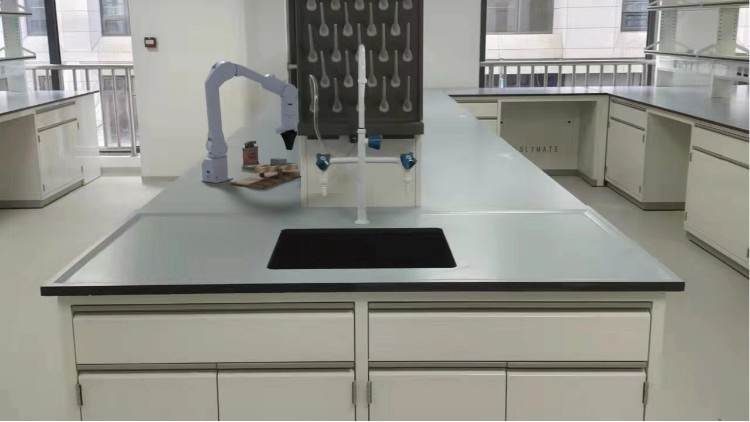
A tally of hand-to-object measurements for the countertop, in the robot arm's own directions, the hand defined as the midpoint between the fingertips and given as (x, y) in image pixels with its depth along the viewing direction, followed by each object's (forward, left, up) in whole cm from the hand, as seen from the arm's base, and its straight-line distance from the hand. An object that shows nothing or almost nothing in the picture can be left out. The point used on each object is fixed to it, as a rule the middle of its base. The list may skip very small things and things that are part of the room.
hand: (289, 149), depth 280 cm
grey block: (-8, 0, -5) cm, 9 cm away
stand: (-13, 0, -9) cm, 16 cm away
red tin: (+7, +25, -10) cm, 28 cm away
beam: (-13, 0, -5) cm, 14 cm away
